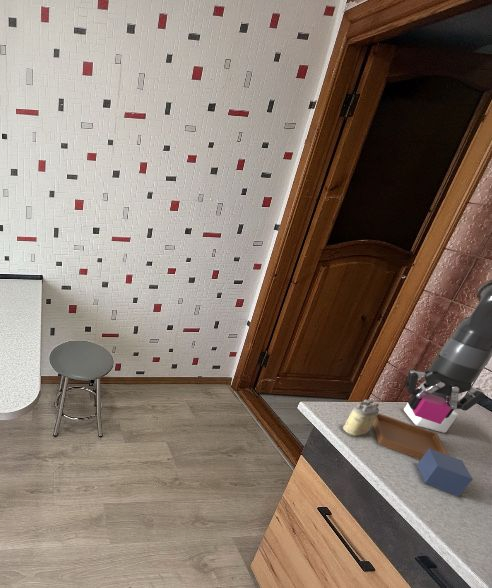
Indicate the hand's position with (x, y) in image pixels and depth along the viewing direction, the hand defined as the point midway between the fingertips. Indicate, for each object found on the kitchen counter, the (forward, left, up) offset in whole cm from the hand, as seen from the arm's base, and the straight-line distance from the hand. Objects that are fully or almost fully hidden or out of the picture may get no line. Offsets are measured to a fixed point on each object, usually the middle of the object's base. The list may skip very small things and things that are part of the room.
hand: (425, 411), depth 87 cm
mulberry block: (0, 0, -1) cm, 1 cm away
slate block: (-3, +12, -11) cm, 16 cm away
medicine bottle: (-7, -14, -11) cm, 19 cm away
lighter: (+12, +4, -11) cm, 17 cm away
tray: (0, 0, -11) cm, 11 cm away
